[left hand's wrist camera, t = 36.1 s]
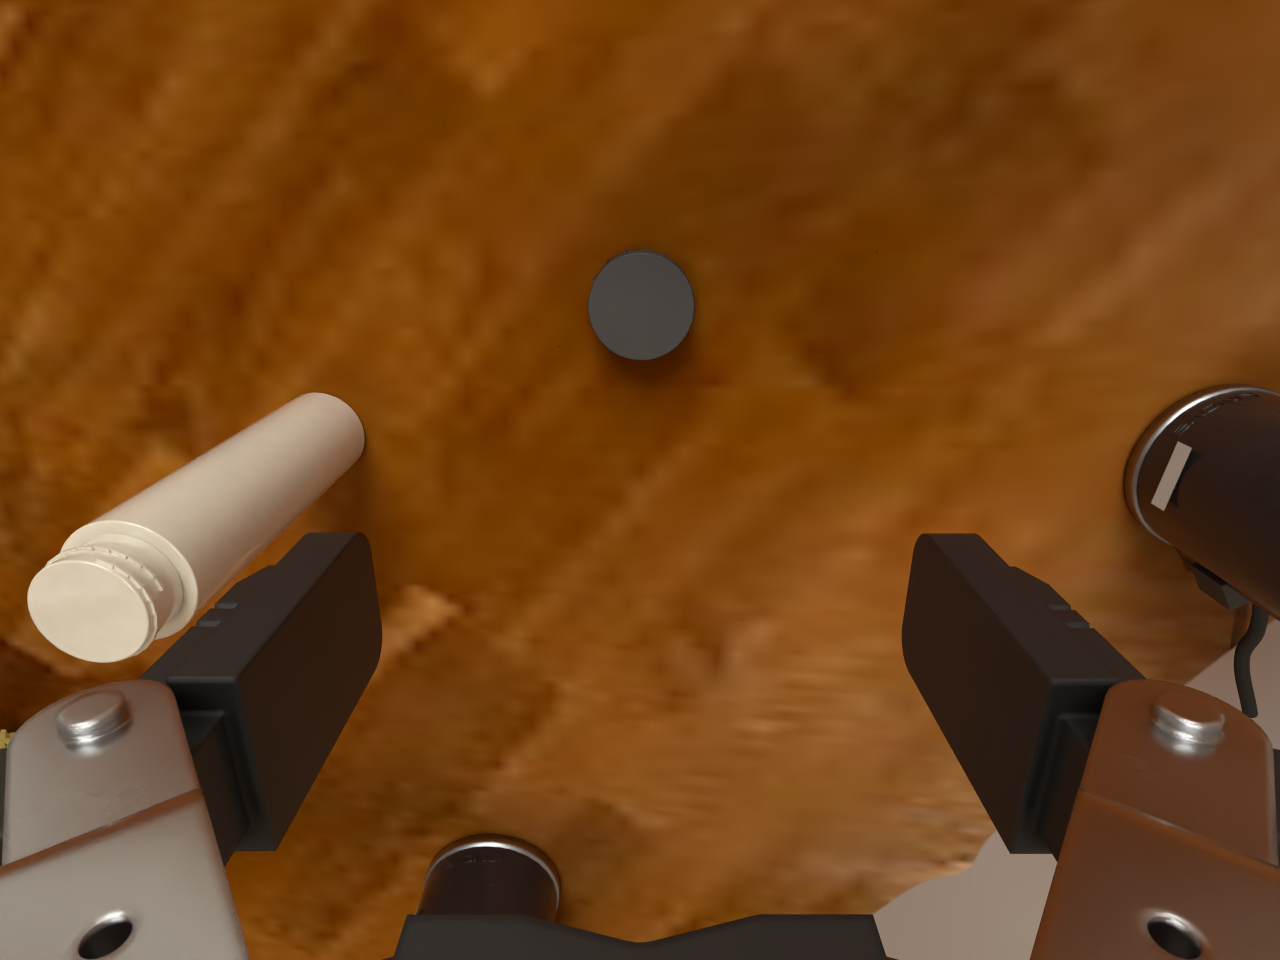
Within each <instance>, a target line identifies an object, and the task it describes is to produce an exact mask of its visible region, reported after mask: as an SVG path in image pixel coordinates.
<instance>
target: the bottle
mask: <svg viewBox="0 0 1280 960" xmlns="http://www.w3.org/2000/svg"><path fill="white" fill-rule="evenodd" d="M364 443H365V436H364V430H363V426H362V424H361V421H360V420H359V418H358V416H357V415H356V413H355V412H354V411H353V410H352V409H351V407H349V406H348V405H347V404H346V403H344V402H343V401H342V400H340V399H338V398H336V397H334V396H331V395H328V394H324V393H307V394H303V395H300V396H298V397H296V398H294V399H293V400H291V401H289V402H288V403H286V404H285V405H283V406H281V407H280V408H278V409H276V410H275V411H273V412H271V413H270V414H268V415H266V416H265V417H263V418H261V419H260V420H258V421H256V422H255V423H253V424H251V425H250V426H248V427H246V428H245V429H243V430H241V431H240V432H238V433H237V434H235V435H233V436H232V437H230V438H228V439H227V440H225V441H223V442H222V443H220V444H218V445H217V446H215V447H213V448H212V449H210V450H208V451H207V452H205V453H203V454H202V455H200V456H198V457H197V458H195V459H194V460H192V461H190V462H189V463H187V464H185V465H184V466H182V467H180V468H179V469H177V470H175V471H174V472H172V473H170V474H169V475H167V476H165V477H164V478H162V479H160V480H159V481H157V482H155V483H154V484H152V485H150V486H149V487H147V488H146V489H144V490H142V491H141V492H139V493H137V494H136V495H134V496H132V497H131V498H129V499H127V500H126V501H124V502H122V503H121V504H119V505H117V506H116V507H114V508H112V509H111V510H109V511H107V512H106V513H104V514H103V515H101V516H99V517H98V518H96V519H94V520H93V521H91V522H89V523H88V524H86V525H84V526H83V527H81V528H79V529H78V530H76V531H75V532H74V533H73V534H71V535H70V537H69V538H68V539H67V540H66V542H65V543H64V545H63V547H62V549H61V552H60V554H58V555H57V556H55V557H54V558H53V559H51V560H50V561H48V563H47V564H46V566H45V567H44V568H43V569H42V570H41V571H39V572H38V573H37V574H36V576H35V577H34V578H33V580H32V582H31V584H30V586H29V589H28V595H27V603H28V609H29V612H30V615H31V618H32V620H33V622H34V624H35V625H36V627H37V628H38V630H39V631H40V632H41V633H42V635H43V636H44V637H45V638H46V639H47V640H48V641H49V642H51V643H52V644H53V645H54V646H56V647H57V648H59V649H60V650H62V651H63V652H65V653H67V654H69V655H71V656H74V657H76V658H79V659H82V660H86V661H90V662H98V663H109V662H116V661H120V660H123V659H126V658H128V657H131V656H134V655H135V656H136V655H137V654H139V653H140V652H142V651H143V650H145V649H147V648H148V647H149V645H150V644H151V643H152V642H153V641H154V640H156V639H161V638H165V637H168V636H170V635H173V634H175V633H176V632H178V631H180V630H181V629H182V628H184V627H185V626H186V625H187V624H188V623H189V622H190V621H191V620H192V619H193V618H194V617H195V616H196V615H197V614H198V613H199V612H201V611H202V610H203V609H204V608H205V607H206V606H207V605H208V604H209V603H210V602H211V601H212V600H213V599H214V598H215V597H216V596H217V595H218V594H219V593H220V592H221V591H222V590H223V589H224V588H226V587H227V586H228V585H229V584H230V583H231V582H232V581H233V580H234V579H235V578H236V577H237V576H238V575H239V574H240V573H241V572H242V571H243V570H244V569H245V568H246V567H247V566H248V565H249V564H251V563H252V562H253V561H254V560H255V559H256V558H257V557H258V556H259V555H260V554H261V553H262V552H263V551H264V550H265V549H266V548H267V547H268V546H269V545H270V544H271V543H272V542H273V541H274V540H276V539H277V538H278V537H279V536H280V535H281V534H282V533H283V532H284V531H285V530H286V529H287V528H288V527H289V526H290V525H291V524H292V523H293V522H294V521H295V520H296V519H297V518H298V517H299V516H301V515H302V514H303V513H304V512H305V511H306V510H307V509H308V508H309V507H310V506H311V505H312V504H313V503H314V502H315V501H316V500H317V499H318V498H319V497H320V496H321V495H322V494H323V493H324V492H326V491H327V490H328V489H329V488H330V487H331V486H332V485H333V484H334V483H335V482H336V481H337V480H338V479H339V478H340V477H341V476H342V475H343V474H344V473H345V472H346V471H347V470H348V469H349V468H351V467H352V466H353V465H354V464H355V463H356V462H357V460H358V459H359V458H360V456H361V454H362V451H363V448H364Z"/></svg>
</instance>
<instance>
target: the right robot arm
mask: <svg viewBox="0 0 1280 960" xmlns="http://www.w3.org/2000/svg"><path fill="white" fill-rule="evenodd" d="M559 895H560V879H559V875H558V872H557V870H556V868H555V866H554V865H553V863H552V862H551V860H550V859H549V858H548V857H547V856H546V855H545V854H544V853H543V852H542V851H540V850H539V849H538V848H536V847H534V846H533V845H531V844H529V843H527V842H525V841H523V840H520V839H517V838H514V837H510V836H505V835H498V834H479V835H473V836H468V837H465V838H461V839H459V840H456V841H454V842H452V843H450V844H449V845H447V846H446V847H444V848H443V849H442V850H441V851H440V852H439V853H438V854H437V855H436V856H435V857H434V859H433V860H432V862H431V864H430V866H429V869H428V872H427V876H426V879H425V882H424V889H423V893H422V896H421V900H420V903H419V904H418V905H419V906H418V907H417V908H418V909H417V910H416V911H417V913H416V912H415V914H416V915H526V916H529V917H533V918H537V919H541V920H545V921H549V922H553V923H555V918H556V911H557V908H558V903H559Z"/></svg>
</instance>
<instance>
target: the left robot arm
mask: <svg viewBox="0 0 1280 960" xmlns="http://www.w3.org/2000/svg"><path fill="white" fill-rule="evenodd" d="M1125 495H1126V500H1127V503H1128V507H1129V509H1130V511H1131V513H1132V515H1133V516H1134V518H1135V519H1136V520H1137V522H1138V523H1139V524H1140V525H1141V526H1142V527H1143V528H1144V529H1146V530H1147V531H1148V532H1150V533H1151V534H1153V535H1154V536H1156V537H1157V538H1159V539H1160V540H1162V541H1164V542H1165V543H1168V544H1170V545H1172V546H1174V547H1176V548H1177V551H1178V553H1179V554H1181V555H1182V556H1184V557H1185V558H1187V559H1188V560H1190V561H1191V562H1193V564H1191V567H1192V570H1193V573H1194V575H1195V578H1196V581H1197V584H1198V586H1199V589H1201V590H1202V591H1203V592H1205V593H1206V594H1208V595H1209V596H1210V597H1212V598H1213V599H1215V600H1216V601H1217V602H1219V603H1220V604H1222V605H1223V606H1224V607H1226V608H1227V609H1229V610H1230V611H1232V610H1234V609H1236V608H1238V607H1241V606H1243V605H1245V604H1247V603H1250V602H1252V603H1253V607H1252V616H1251V621H1250V625H1249V628H1248V630H1247V632H1246V634H1245V635H1244V636H1243V638H1242V639H1241V640H1240V641H1239V643H1238V645H1237V647H1236V650H1235V655H1234V673H1235V680H1236V685H1237V689H1238V694H1239V698H1240V703H1241V708H1242V712H1241V711H1239V710H1238V709H1236V708H1234V707H1233V706H1231V705H1230V704H1228V703H1226V702H1224V701H1222V700H1220V699H1218V698H1216V697H1213V696H1211V695H1209V694H1206V693H1204V692H1201V691H1198V690H1196V689H1193V688H1190V687H1186V686H1183V685H1179V684H1175V683H1170V682H1165V681H1158V680H1148V679H1146V678H1145V677H1144V676H1143V675H1142V674H1141V673H1140V672H1139V671H1138V670H1136V669H1135V668H1134V667H1133V666H1132V665H1131V664H1130V663H1129V662H1128V661H1127V660H1126V659H1125V658H1124V657H1123V656H1122V655H1121V654H1120V653H1119V652H1118V651H1117V650H1116V649H1115V648H1114V647H1113V646H1112V645H1111V644H1110V643H1109V642H1108V641H1106V640H1105V639H1104V638H1103V637H1102V636H1101V635H1100V634H1099V633H1098V632H1097V631H1096V630H1095V629H1094V628H1089V623H1088V622H1087V621H1086V620H1085V619H1084V618H1083V617H1082V616H1081V615H1080V614H1079V613H1078V612H1076V611H1075V610H1071V606H1070V605H1069V604H1068V603H1067V602H1066V601H1065V600H1064V599H1063V598H1062V597H1061V596H1060V595H1059V594H1058V593H1057V592H1056V591H1055V590H1054V589H1053V588H1052V587H1051V586H1050V585H1048V584H1046V583H1045V582H1043V581H1041V580H1039V579H1037V578H1035V577H1034V576H1032V575H1030V574H1028V573H1026V572H1024V571H1022V570H1021V569H1019V568H1017V567H1009V566H1008V564H1007V563H1006V562H1005V561H1004V560H1003V559H1002V558H1001V557H1000V556H999V555H998V554H997V553H996V552H995V551H994V550H993V549H992V548H991V547H990V546H989V545H988V544H987V543H986V542H985V541H984V540H983V539H982V538H981V537H980V536H979V535H977V534H921V535H920V536H919V537H918V539H917V541H916V543H915V547H914V551H913V558H912V564H911V571H910V578H909V585H908V591H907V598H906V605H905V612H904V619H903V625H902V648H903V655H904V659H905V663H906V666H907V669H908V671H909V673H910V675H911V677H912V678H913V680H914V682H915V684H916V686H917V687H918V689H919V691H920V693H921V695H922V696H923V698H924V700H925V702H926V703H927V705H928V707H929V709H930V711H931V712H932V714H933V716H934V718H935V720H936V721H937V723H938V725H939V727H940V729H941V730H942V732H943V734H944V736H945V738H946V739H947V741H948V743H949V745H950V747H951V748H952V750H953V752H954V754H955V755H956V757H957V759H958V761H959V763H960V764H961V766H962V768H963V770H964V772H965V773H966V775H967V777H968V779H969V781H970V782H971V784H972V786H973V788H974V790H975V791H976V793H977V795H978V797H979V799H980V800H981V802H982V804H983V806H984V807H985V809H986V811H987V813H988V815H989V816H990V818H991V820H992V822H993V824H994V825H995V827H996V829H997V831H998V833H999V834H1000V836H1001V838H1002V840H1003V842H1004V843H1005V845H1006V847H1007V849H1008V850H1009V852H1010V854H1053V856H1054V857H1055V859H1056V861H1057V866H1056V869H1055V873H1054V876H1053V880H1052V883H1051V887H1050V891H1049V894H1048V897H1047V901H1046V904H1045V908H1044V911H1043V915H1042V918H1041V922H1040V925H1039V929H1038V933H1037V936H1036V939H1035V943H1034V946H1033V950H1032V954H1031V957H1030V960H1280V750H1277V749H1273V748H1272V743H1271V741H1270V740H1269V738H1268V736H1267V735H1266V733H1265V732H1264V731H1263V730H1262V729H1261V727H1260V726H1258V725H1257V724H1256V723H1255V722H1254V721H1253V720H1252V719H1251V718H1255V717H1257V715H1258V711H1257V705H1256V700H1255V696H1254V691H1253V687H1252V682H1251V676H1250V656H1251V653H1252V651H1253V650H1254V648H1255V647H1256V646H1257V645H1258V644H1259V643H1260V641H1261V640H1262V638H1263V636H1264V634H1265V630H1266V627H1267V622H1268V616H1269V614H1270V615H1271V616H1273V617H1274V618H1276V619H1277V620H1278V621H1280V394H1279V393H1276V392H1273V391H1270V390H1266V389H1263V388H1260V387H1257V386H1252V385H1246V384H1226V385H1219V386H1214V387H1210V388H1207V389H1203V390H1201V391H1198V392H1195V393H1193V394H1191V395H1189V396H1187V397H1185V398H1183V399H1181V400H1179V401H1178V402H1176V403H1175V404H1173V405H1172V406H1170V407H1169V408H1168V409H1166V410H1165V411H1164V412H1163V413H1162V414H1160V415H1159V416H1158V417H1157V418H1156V419H1155V420H1154V421H1153V422H1152V423H1151V424H1150V425H1149V427H1148V428H1147V429H1146V430H1145V432H1144V433H1143V434H1142V436H1141V437H1140V439H1139V440H1138V442H1137V444H1136V445H1135V447H1134V449H1133V451H1132V454H1131V456H1130V459H1129V462H1128V465H1127V469H1126V474H1125ZM381 647H382V625H381V617H380V611H379V604H378V597H377V590H376V583H375V576H374V569H373V562H372V555H371V549H370V545H369V542H368V539H367V538H366V536H365V535H364V534H363V533H307V534H306V535H305V536H303V537H302V539H301V540H300V541H299V542H298V543H297V544H296V545H295V546H294V547H293V548H292V549H291V550H290V551H289V552H288V553H287V554H286V555H285V556H284V557H283V558H282V559H281V560H280V561H279V562H278V563H277V564H276V565H269V566H267V567H266V568H264V569H262V570H260V571H258V572H256V573H254V574H253V575H251V576H249V577H247V578H245V579H243V580H242V581H240V582H238V583H236V584H235V585H234V586H233V587H232V588H231V589H230V590H229V591H228V592H227V593H226V594H225V595H224V596H223V597H222V598H221V599H220V600H219V601H218V602H217V603H216V604H215V608H214V609H210V610H208V611H207V612H206V613H205V614H204V615H203V616H202V617H201V618H200V619H199V620H198V621H197V625H196V627H191V628H190V629H189V630H188V631H187V632H186V633H185V634H184V635H183V636H182V637H181V638H180V639H179V640H178V641H177V642H176V643H175V644H174V645H173V646H172V647H171V648H170V649H168V650H167V651H166V652H165V653H164V654H163V655H162V656H161V657H160V658H159V659H158V660H157V661H156V662H155V663H154V664H153V665H152V666H151V667H150V668H149V669H148V670H147V671H146V672H145V673H144V674H143V675H142V676H141V677H140V678H139V679H132V680H122V681H115V682H110V683H105V684H101V685H97V686H94V687H90V688H87V689H84V690H82V691H79V692H76V693H74V694H71V695H69V696H67V697H64V698H62V699H60V700H58V701H56V702H54V703H52V704H50V705H49V706H47V707H46V708H44V709H42V710H41V711H39V712H38V713H36V714H35V715H34V716H32V717H31V718H29V719H28V720H27V721H26V722H25V723H24V724H23V725H22V726H20V727H19V729H18V730H17V731H16V732H15V733H14V735H13V736H12V738H11V740H10V741H9V743H8V747H7V748H2V749H0V960H250V957H249V954H248V950H247V946H246V943H245V939H244V936H243V932H242V929H241V925H240V922H239V918H238V915H237V911H236V908H235V904H234V901H233V897H232V894H231V890H230V887H229V883H228V880H227V876H226V873H225V869H224V867H225V865H226V864H227V862H228V860H229V859H230V857H231V856H232V854H233V852H234V851H276V850H277V848H278V846H279V844H280V842H281V840H282V839H283V837H284V835H285V833H286V831H287V830H288V828H289V826H290V824H291V822H292V821H293V819H294V817H295V815H296V813H297V811H298V810H299V808H300V806H301V804H302V802H303V801H304V799H305V797H306V795H307V793H308V791H309V790H310V788H311V786H312V784H313V782H314V781H315V779H316V777H317V775H318V773H319V771H320V770H321V768H322V766H323V764H324V762H325V761H326V759H327V757H328V755H329V753H330V752H331V750H332V748H333V746H334V744H335V742H336V741H337V739H338V737H339V735H340V733H341V732H342V730H343V728H344V726H345V724H346V722H347V721H348V719H349V717H350V715H351V713H352V712H353V710H354V708H355V706H356V704H357V703H358V701H359V699H360V697H361V695H362V693H363V692H364V690H365V688H366V686H367V684H368V683H369V681H370V679H371V677H372V675H373V673H374V672H375V670H376V667H377V665H378V662H379V658H380V653H381ZM383 960H897V959H894V958H890V957H886V954H885V951H884V948H883V945H882V942H881V939H880V936H879V933H878V929H877V926H876V923H875V920H874V917H873V915H754V916H751V917H747V918H743V919H739V920H735V921H731V922H727V923H723V924H719V925H715V926H711V927H707V928H703V929H699V930H695V931H691V932H687V933H683V934H679V935H675V936H671V937H667V938H663V939H659V940H655V941H651V942H645V943H635V942H629V941H625V940H621V939H617V938H613V937H609V936H605V935H601V934H597V933H593V932H589V931H585V930H581V929H577V928H573V927H569V926H565V925H561V924H557V923H553V922H549V921H545V920H541V919H537V918H533V917H529V916H526V915H407V917H406V920H405V923H404V926H403V929H402V933H401V936H400V939H399V942H398V945H397V948H396V951H395V954H394V957H390V958H386V959H383Z"/></svg>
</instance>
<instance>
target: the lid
mask: <svg viewBox="0 0 1280 960" xmlns="http://www.w3.org/2000/svg"><path fill="white" fill-rule="evenodd" d="M683 272H684V270H683V268H682V267H679V266H678V265H677V264H676V263H675V262H674V261H673V260H671V259H670V258H669V257H668V256H667V254H664V255H663V254H661V253H659V252H656V251H652V250H647V248H645V249H637V250H631V251H626V250H625V251H624V253H621V254H619V255H617V256H616V257H614V258H613V259H611V260H610V261H608V260H607V261H606V263H605V266H604V267H603V268H602V269H601V271H600V272H599V274H598V275H597V277H594V279H593V281H592V282H593V285H592V288H591V291H590V295H589V298H588V301H587V303H588V310H589V318H590V324H591V325H592V328H593V330H594V332H595V334H596V335H597V337H598V338H599V340H600V341H601V342H602V343H603V344H604V345H605V346H606V347H607V348H608V349H609V350H611V351H612V352H614V353H615V354H617V355H619V356H622V357H624V358H627V359H632V360H651V359H655V358H658V357H661V356H663V355H665V354H667V353H669V352H670V351H672V350H673V349H674V348H676V347H677V346H678V345H679V344H680V343H681V342H682V341H683V339H684V338H685V336H686V335H687V333H688V332H689V329H690V327H691V324H692V321H693V317H694V312H695V309H694V297H693V292H692V291H694V290H693V288H692V286H691V285H690V284H689V282H688V280H687V278H686V276H685V274H684V273H683Z"/></svg>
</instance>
